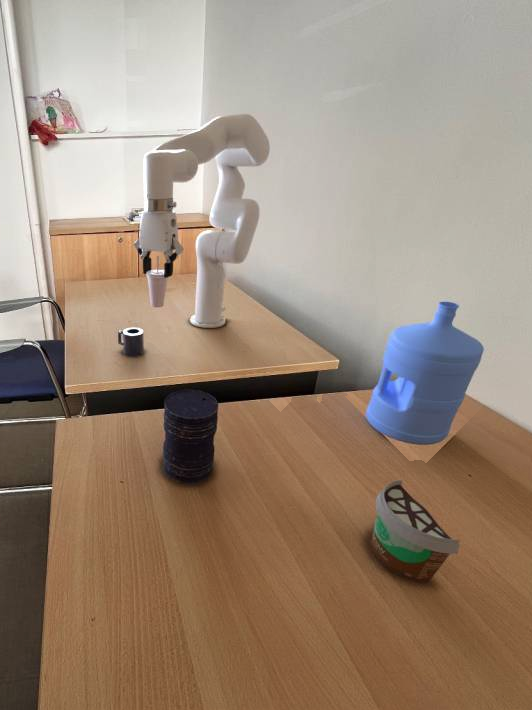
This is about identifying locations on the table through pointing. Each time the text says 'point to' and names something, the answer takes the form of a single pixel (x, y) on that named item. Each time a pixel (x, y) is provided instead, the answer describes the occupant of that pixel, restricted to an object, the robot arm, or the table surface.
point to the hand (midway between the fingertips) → (157, 274)
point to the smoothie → (157, 286)
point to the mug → (132, 341)
